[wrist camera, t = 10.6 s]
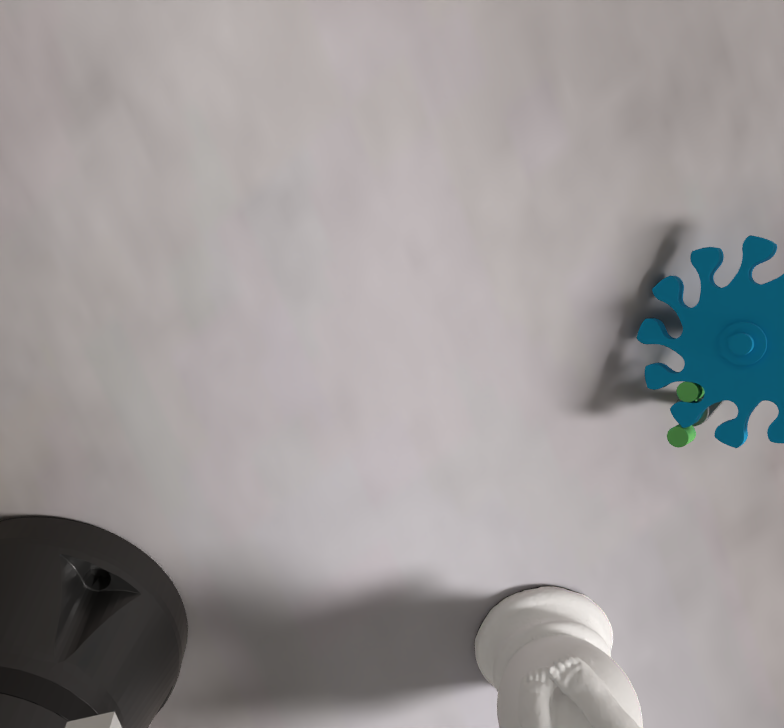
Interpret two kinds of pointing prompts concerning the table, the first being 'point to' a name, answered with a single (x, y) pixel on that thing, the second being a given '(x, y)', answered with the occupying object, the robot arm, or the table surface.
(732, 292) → the gear
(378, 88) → the table surface
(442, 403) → the table surface
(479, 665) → the white statue
